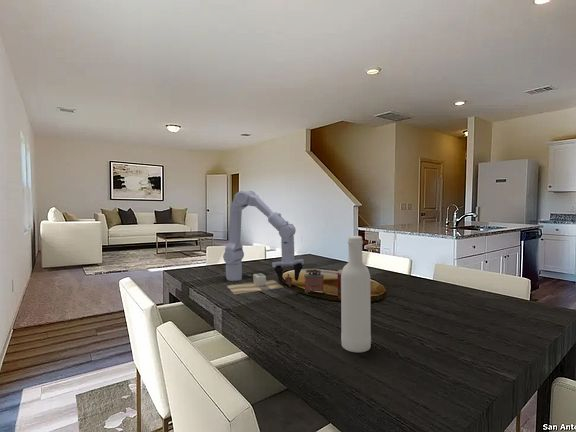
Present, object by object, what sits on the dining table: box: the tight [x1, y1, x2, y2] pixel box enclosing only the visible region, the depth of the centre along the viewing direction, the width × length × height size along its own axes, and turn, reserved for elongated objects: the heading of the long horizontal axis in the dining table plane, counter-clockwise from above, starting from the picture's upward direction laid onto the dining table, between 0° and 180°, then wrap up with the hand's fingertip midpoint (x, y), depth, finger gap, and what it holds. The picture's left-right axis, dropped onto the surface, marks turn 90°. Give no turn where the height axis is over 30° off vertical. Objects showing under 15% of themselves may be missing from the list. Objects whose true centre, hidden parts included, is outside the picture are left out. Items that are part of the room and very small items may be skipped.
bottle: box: [340, 235, 372, 353], centre depth 89 cm, size 8×8×30 cm
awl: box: [284, 273, 293, 287], centre depth 149 cm, size 3×3×6 cm
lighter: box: [304, 268, 325, 294], centre depth 139 cm, size 8×3×10 cm, turn 84°
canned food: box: [336, 268, 343, 301], centre depth 130 cm, size 8×8×11 cm
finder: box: [252, 273, 267, 286], centre depth 149 cm, size 6×4×4 cm, turn 23°
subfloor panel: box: [226, 279, 284, 295], centre depth 146 cm, size 14×22×1 cm, turn 113°
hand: (288, 281), depth 149 cm, fingers open, 7 cm apart
